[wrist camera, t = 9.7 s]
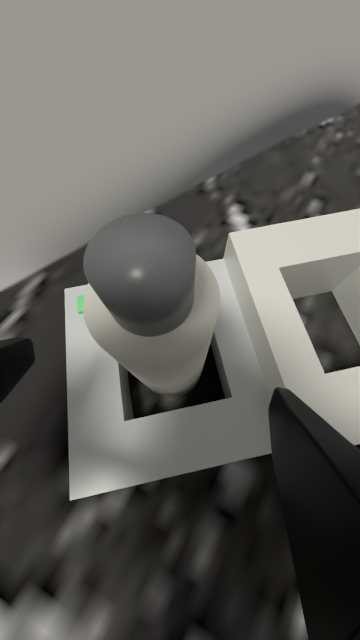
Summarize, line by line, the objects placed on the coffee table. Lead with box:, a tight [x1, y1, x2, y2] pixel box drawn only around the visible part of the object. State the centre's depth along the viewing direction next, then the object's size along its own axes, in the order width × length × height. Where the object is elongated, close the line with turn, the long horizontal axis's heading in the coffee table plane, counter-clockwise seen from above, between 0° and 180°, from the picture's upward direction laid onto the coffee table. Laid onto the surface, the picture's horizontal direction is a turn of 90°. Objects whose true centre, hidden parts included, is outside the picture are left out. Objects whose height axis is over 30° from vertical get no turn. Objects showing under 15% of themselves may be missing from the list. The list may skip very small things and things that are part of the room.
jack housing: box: [65, 209, 360, 500], centre depth 15 cm, size 12×22×5 cm, turn 102°
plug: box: [83, 213, 220, 398], centre depth 11 cm, size 4×4×12 cm
